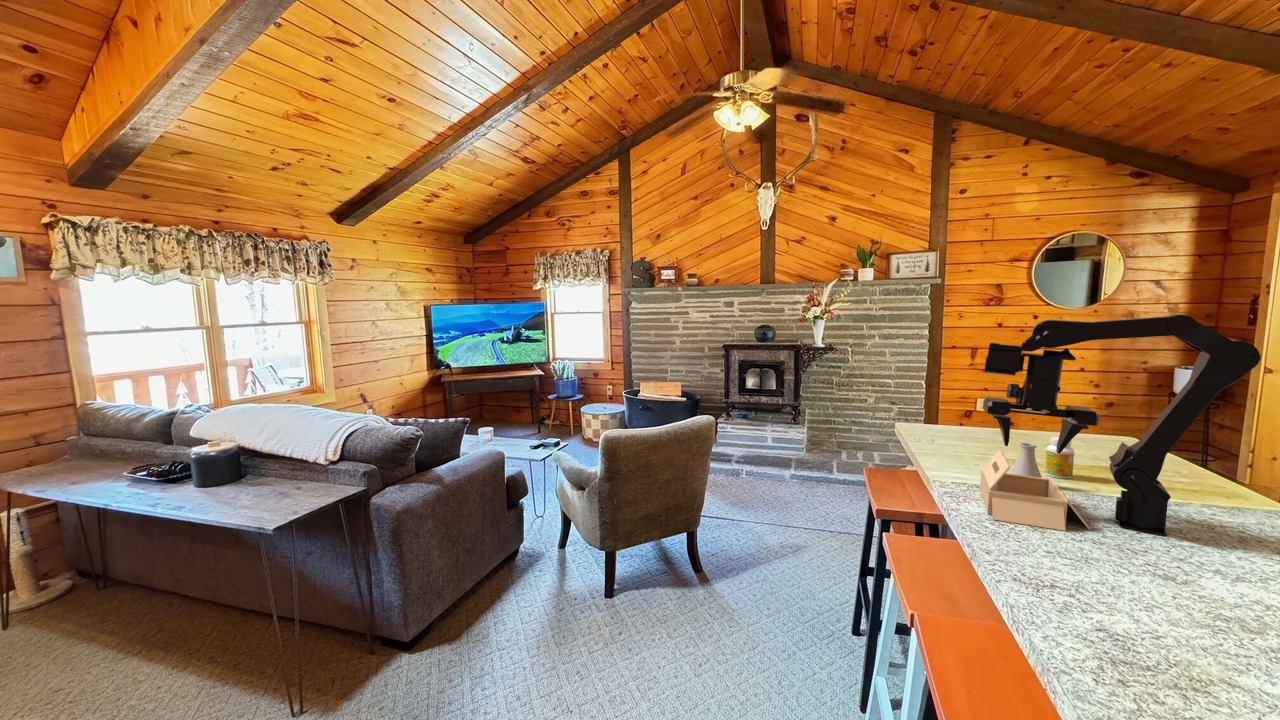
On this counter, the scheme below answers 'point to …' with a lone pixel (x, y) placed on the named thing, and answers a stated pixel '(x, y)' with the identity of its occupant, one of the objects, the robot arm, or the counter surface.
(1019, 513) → the carton
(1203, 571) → the counter surface
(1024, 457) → the flask
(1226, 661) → the counter surface
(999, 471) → the far flap
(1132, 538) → the counter surface
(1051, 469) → the supplement bottle
